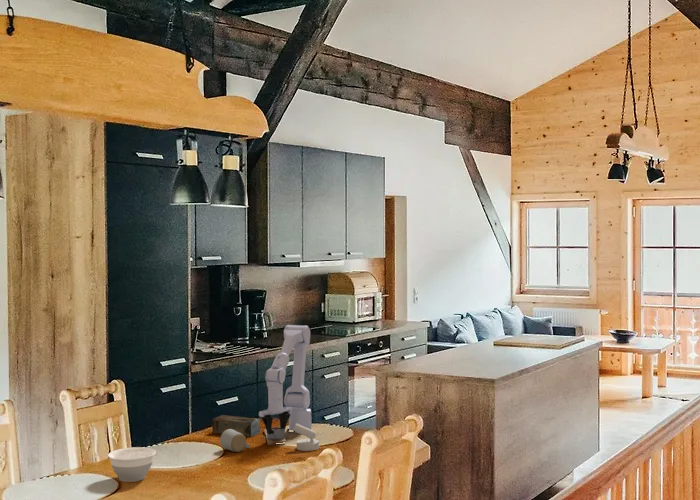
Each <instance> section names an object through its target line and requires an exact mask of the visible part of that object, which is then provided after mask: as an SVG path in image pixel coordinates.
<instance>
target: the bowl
mask: <svg viewBox="0 0 700 500" xmlns="http://www.w3.org/2000/svg"><path fill="white" fill-rule="evenodd" d="M156 453H157V451H156V450H155V449H153V448H151V447H143V446H142V447H141V446H135V447H133V446H132V447H131V446H130V447H125V448H119V449H115V450H112V451H111V452H109V453H108V454H107V458H109V459H110V464H111V468H112V469H113V472H114V473H115V475H116V476H117V477H118V479H119V481H121V482H124V483H128V482H129V483H132V482H140V481H142V480H144V479H146V475H147V474H148V472H149V471H150V469H151V467H152V464H153V460H154V458H153V457H154V456H155V455H156Z"/></svg>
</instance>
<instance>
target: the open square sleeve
mask: <svg viewBox="0 0 700 500" xmlns="http://www.w3.org/2000/svg"><path fill="white" fill-rule="evenodd" d="M274 427H275V426H272V432H271V434H267V438H268V439H271V440H274V441H275V440H280V439H285V440H286V436H285V431H286V428H285V429H284V428H281V427H280V426H278V425H277V426H276V427H278V429H276V430H274Z"/></svg>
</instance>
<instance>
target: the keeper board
mask: <svg viewBox="0 0 700 500" xmlns="http://www.w3.org/2000/svg"><path fill="white" fill-rule="evenodd" d="M273 427H274V430H276V429H278V427H279V426H278V427H277V426H273ZM263 433H264V436H265V435H266V436H265V439H266V438H267V431H266V428H264V429H263ZM266 441H267V445H268V446H273V445H274V446H276V443H283V442H286V443H287V440H286V438H285V439H280V440H275V441H274V440H271V439H268V438H267V440H266Z"/></svg>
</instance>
